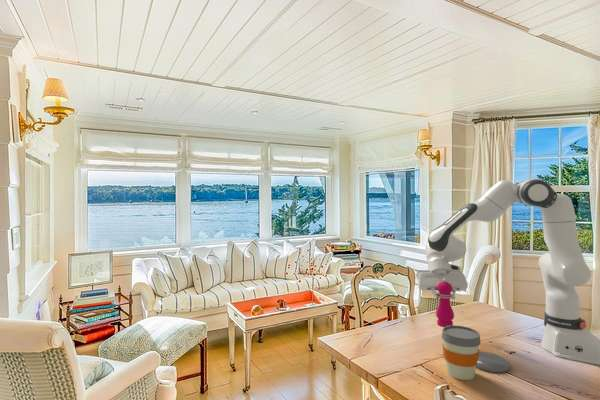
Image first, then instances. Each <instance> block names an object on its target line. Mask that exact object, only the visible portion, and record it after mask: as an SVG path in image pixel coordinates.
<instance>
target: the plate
mask: <svg viewBox="0 0 600 400" xmlns="http://www.w3.org/2000/svg"><path fill="white" fill-rule="evenodd" d="M510 367H511V366H510V361H508V360H507V359H506V358H504V357H503V356H500V355H497V354H494V353H492V352H486V351H485V352H484V351H479V358H478V364H477V365H476V369H478V370H480V371H483V372H487V373H493V374H494V373H495V374H500V373H501V374H502V373H506V372H509V370H510Z"/></svg>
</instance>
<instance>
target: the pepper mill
mask: <svg viewBox="0 0 600 400" xmlns="http://www.w3.org/2000/svg"><path fill="white" fill-rule="evenodd" d="M437 289H438V290H437V291H438V294H439V303H438V306H437V308H436V311H435V316H436V318H437V320H436V323H437V326H439V327H441V328H444V327H446V326H452V325H454V321H453V320H454V318H455V314H454V310H453V308H452V306H451V294H452V286H451V284H450V283H448V282H447V279H445V278H444V279H443V282H440V283H439V284H438V286H437Z"/></svg>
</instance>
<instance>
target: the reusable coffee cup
mask: <svg viewBox="0 0 600 400" xmlns="http://www.w3.org/2000/svg"><path fill="white" fill-rule="evenodd" d="M441 338H442V353H443V358H444V360H445V366H446V372H447V374H448V375H449V376H450V377H452V378H454V379H458V380H461V381H470V380H473V379H474V378H475V375H476V369H477V368H476V365H477V364H478V358H479V352H481V350H480V348H479V347H480V345H481V335H480V333H479V332H478V331H477V330H476V329H473V328H471V327H468V326H463V325H454V324H453V325H452V326H446V327H442V332H441Z"/></svg>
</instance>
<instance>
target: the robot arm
mask: <svg viewBox="0 0 600 400" xmlns="http://www.w3.org/2000/svg"><path fill="white" fill-rule="evenodd" d="M515 203H519V204H520V203H521V204H523V205H525V206H530V207H538V208H539V210H540V212H541V218H542V219H541V220H542V232H543V241H544V242H545V245H546V247H547V249H548V252H545V253H543V254H542V255H541V256H540V257H539V258H538V263H537V264H538V267H539V269H540V272H541V277H542V281H543V286H544V290H545V291H544V292H545V311H544V314H543V325H544V331H543V334H542V335H543V336H542V339H541V342H540V346H541V348H542V349H543V350H545V351H547V352H549V353H551V354H552V355H554V356H556V357H557V358H562V359H567V360H572V361H577V362H582V363H586V364H587V363H588V364H594V365H598V366H600V338H599V337H597V336H596V335H595V334H593V333H592V332H591V331H590V330H588V329H587V323H586V320H585V318H581V317H580V297H579V295H578V293H577V291H576V290H577V289H576V287H581V286H584V285H586V284H588V282H589V281H590V280H591V277H592V274H591V273H592V272H591V269H590V267H589V266H588V264H587V263H586V261H585V258H584V255H583V253H582V249H581V247H580V243H579V239H578V230H577V221H576V220H577V218H576V212H575V207H574V204H573V201H572V199H571V197H569V195H567V194H563V193H556V191H555V190H554V188H553V187H552V186H551V185H550V184H549V183H548V182H546V181H545V180H542V179H538V178H537V179H536V178H531V179H527V180H523V181H520V182H518V183H513V182H512V181H510V180H508V179H506V180H505V179H502V180H498V181H497V182H495V184H493V185H491V186H490V188H488V189H487V190H486V192H484V193H483V195H481V197H479V198H478V199H477V200H475V201H473V202H471V203H467V204H465V205H463V206H462V207H461V208H460V209H459V210H457V211H456V212H455V213H454V214H453V215H451V216H450V217H449V218H448V219H447V220H445V221H444V222H443V223H442V224H441V225H439V226H437V227H436V228H434V229H433V230H431V231H430V232H429V234H428V237H427V241H426V243H425V256H426V260H427V268H428V269H425V270H423V269H422V270H421V269H420V270H418V271H416V273H415V275H416V279H417V286H418V289H419V290H420V291H430V292H431V294H432V295H433V296H434V299H435V300H440V297H439V293H437V292H436V291H438V289H437V286H438V284H439V283H440V282H443V279H444V278H445V279H447V282H448V283H450V284H451V286H452V292H451V293H450V294H451V298H450V300H456V293H457V291H458V292H461V291H463V292H465V291H466V290H467V289H468V286H469V285H468V281H467V278H466V275H465V274H464V273H463V272H462V267H461V266H459V265H455V264H451V263H450V262H455V261H457V260H461V258H463V257H465V254H466V252H467V246H466V243H465V242H463V241H462V240H461V239H460V238H458V237H457V236H454V235H453V234H454V233H456V231H458V230H459V229H460V228H462V227H463V226H464V225H465V224H466V223H468V222H472V221H477V222H478V221H479V222H484V223H489V222H495V221H497V220H498V219H499V218H501V217H502V215H504V213H505V212H506V211H507V210H508V209H509V208H510V206H512V205H514V204H515Z"/></svg>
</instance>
